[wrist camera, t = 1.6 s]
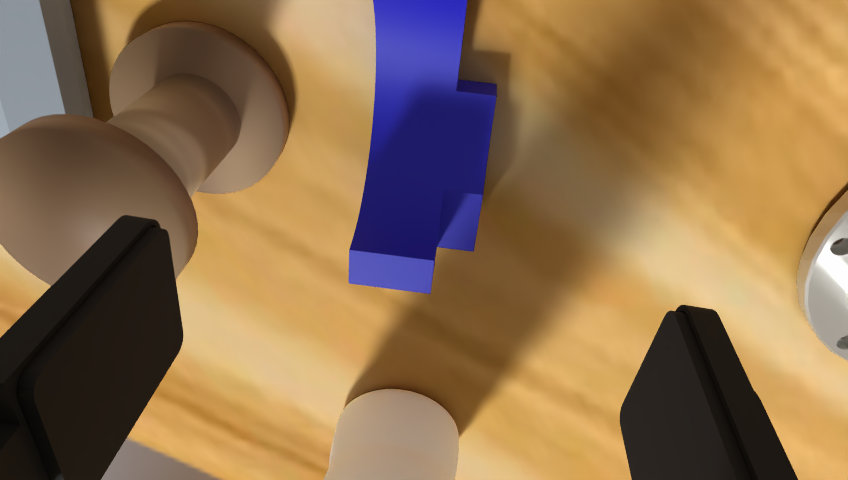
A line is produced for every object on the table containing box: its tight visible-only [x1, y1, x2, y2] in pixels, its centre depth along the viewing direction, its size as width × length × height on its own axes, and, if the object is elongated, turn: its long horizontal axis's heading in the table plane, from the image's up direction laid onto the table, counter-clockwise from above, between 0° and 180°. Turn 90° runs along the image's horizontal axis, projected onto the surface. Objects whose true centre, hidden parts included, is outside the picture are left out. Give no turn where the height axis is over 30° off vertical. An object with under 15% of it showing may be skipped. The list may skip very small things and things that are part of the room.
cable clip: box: [349, 0, 497, 294], centre depth 21 cm, size 12×4×6 cm, turn 175°
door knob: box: [0, 21, 289, 286], centre depth 21 cm, size 7×7×9 cm
